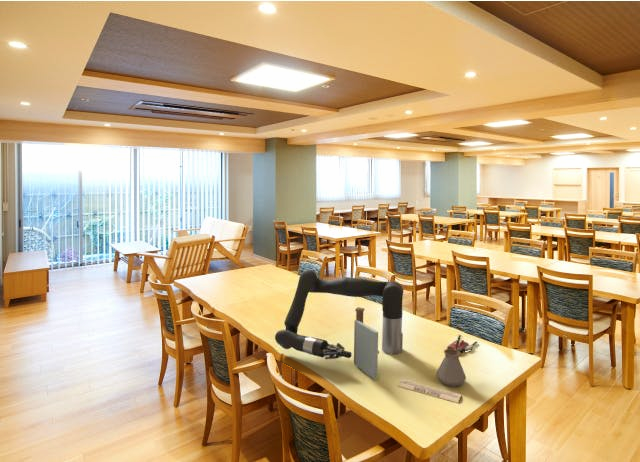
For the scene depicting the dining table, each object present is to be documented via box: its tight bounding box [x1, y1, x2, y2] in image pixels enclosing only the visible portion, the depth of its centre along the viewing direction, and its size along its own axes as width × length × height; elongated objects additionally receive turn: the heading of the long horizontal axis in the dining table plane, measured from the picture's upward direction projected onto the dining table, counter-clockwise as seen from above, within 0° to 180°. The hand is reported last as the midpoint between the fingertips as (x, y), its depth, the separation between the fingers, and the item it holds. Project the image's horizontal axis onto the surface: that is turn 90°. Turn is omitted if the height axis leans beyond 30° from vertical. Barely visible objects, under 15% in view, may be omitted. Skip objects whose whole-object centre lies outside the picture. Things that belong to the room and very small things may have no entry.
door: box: [353, 319, 380, 380], centre depth 168 cm, size 16×3×20 cm, turn 28°
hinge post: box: [355, 307, 365, 323], centre depth 176 cm, size 3×3×25 cm
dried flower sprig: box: [446, 339, 478, 354], centre depth 193 cm, size 9×4×20 cm
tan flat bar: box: [397, 378, 462, 404], centre depth 153 cm, size 24×7×2 cm, turn 59°
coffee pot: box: [436, 334, 467, 387], centre depth 164 cm, size 21×12×15 cm, turn 149°
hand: (350, 355), depth 166 cm, fingers closed
